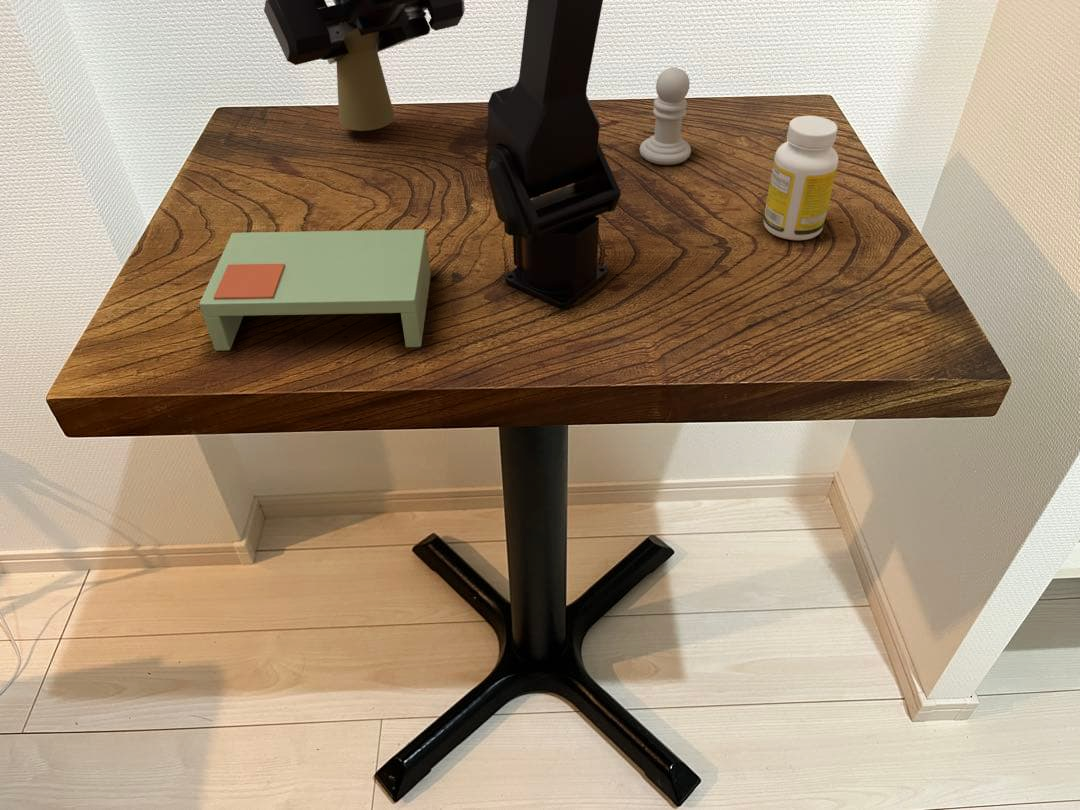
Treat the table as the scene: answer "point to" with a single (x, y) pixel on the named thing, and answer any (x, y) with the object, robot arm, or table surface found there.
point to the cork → (362, 85)
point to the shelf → (319, 278)
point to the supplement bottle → (802, 179)
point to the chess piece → (668, 120)
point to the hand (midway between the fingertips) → (351, 53)
